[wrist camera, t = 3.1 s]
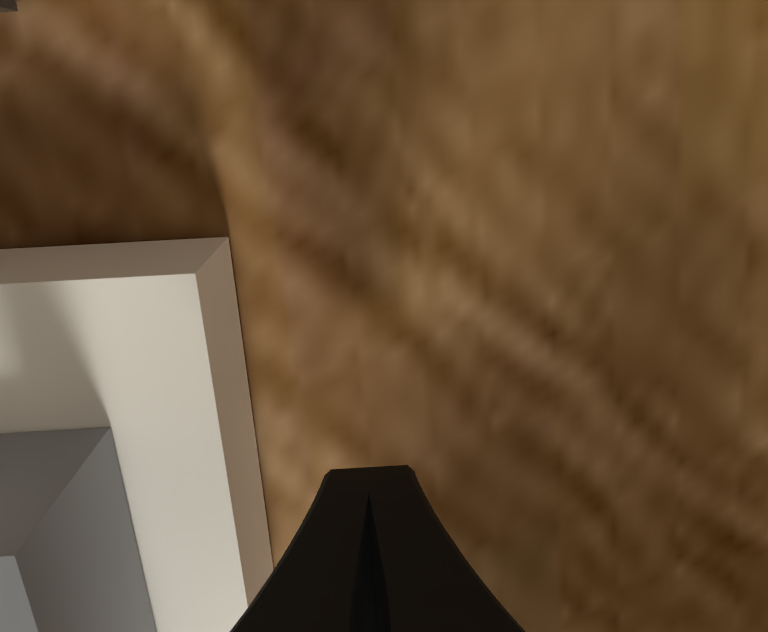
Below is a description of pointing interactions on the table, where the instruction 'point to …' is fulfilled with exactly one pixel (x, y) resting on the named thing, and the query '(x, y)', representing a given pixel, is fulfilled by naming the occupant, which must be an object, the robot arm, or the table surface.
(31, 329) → the socket plate
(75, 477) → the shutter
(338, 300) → the table surface
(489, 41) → the table surface
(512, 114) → the table surface
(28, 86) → the table surface
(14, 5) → the plug
